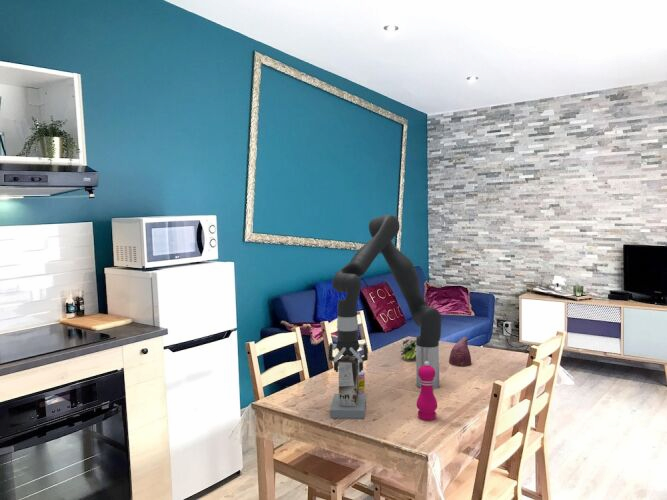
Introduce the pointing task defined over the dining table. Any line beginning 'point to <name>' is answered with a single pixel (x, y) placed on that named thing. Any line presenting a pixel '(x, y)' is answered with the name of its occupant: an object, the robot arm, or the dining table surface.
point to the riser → (348, 408)
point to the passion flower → (408, 349)
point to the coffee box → (348, 381)
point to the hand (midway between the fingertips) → (348, 371)
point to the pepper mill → (426, 393)
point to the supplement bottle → (361, 382)
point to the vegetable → (460, 354)
